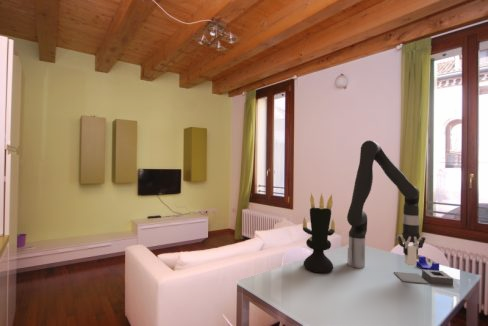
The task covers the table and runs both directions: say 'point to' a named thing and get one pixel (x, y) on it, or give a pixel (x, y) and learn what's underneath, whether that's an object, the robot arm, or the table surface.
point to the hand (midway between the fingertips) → (410, 254)
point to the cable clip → (424, 265)
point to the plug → (411, 255)
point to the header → (437, 277)
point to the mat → (410, 277)
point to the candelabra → (319, 236)
